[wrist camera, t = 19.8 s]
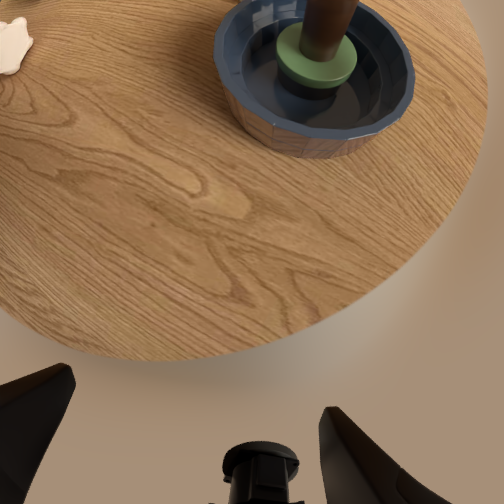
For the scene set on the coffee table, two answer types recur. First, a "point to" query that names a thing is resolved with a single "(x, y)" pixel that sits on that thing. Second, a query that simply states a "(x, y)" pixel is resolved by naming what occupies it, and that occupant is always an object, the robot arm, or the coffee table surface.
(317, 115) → the bowl
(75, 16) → the coffee table surface
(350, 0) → the brush
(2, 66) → the dog bone
